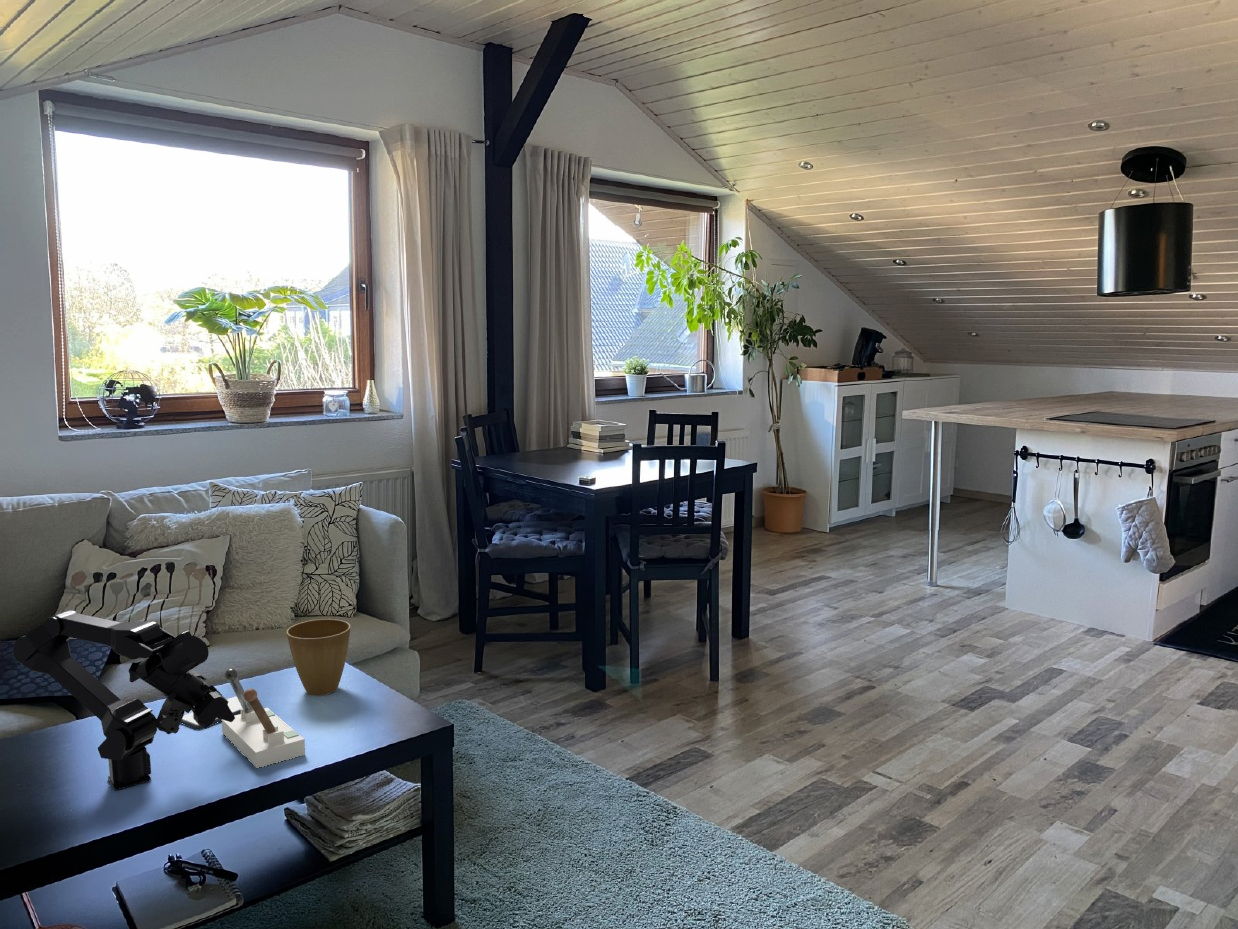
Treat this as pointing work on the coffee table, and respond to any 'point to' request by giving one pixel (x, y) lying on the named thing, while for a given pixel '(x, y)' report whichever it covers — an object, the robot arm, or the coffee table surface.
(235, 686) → the grey lever
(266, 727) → the walnut lever
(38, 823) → the coffee table surface
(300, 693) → the coffee table surface
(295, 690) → the coffee table surface
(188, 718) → the phone case
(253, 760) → the switch panel
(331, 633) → the plant pot
